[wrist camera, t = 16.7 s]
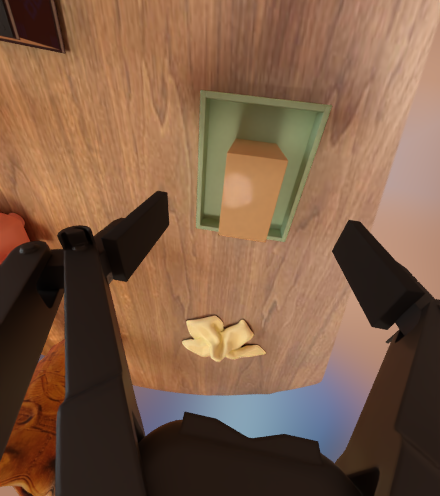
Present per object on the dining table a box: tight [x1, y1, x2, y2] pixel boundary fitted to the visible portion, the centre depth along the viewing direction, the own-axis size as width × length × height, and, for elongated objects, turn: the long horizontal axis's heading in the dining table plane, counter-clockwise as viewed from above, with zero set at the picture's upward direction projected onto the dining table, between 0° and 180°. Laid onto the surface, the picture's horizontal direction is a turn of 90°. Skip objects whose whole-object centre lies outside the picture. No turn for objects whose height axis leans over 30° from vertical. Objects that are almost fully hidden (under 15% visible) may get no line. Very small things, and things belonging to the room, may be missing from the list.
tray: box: [196, 90, 332, 242], centre depth 26 cm, size 13×16×3 cm
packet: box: [218, 138, 288, 242], centre depth 22 cm, size 5×8×10 cm, turn 174°
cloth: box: [182, 316, 266, 362], centre depth 48 cm, size 22×19×6 cm
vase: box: [0, 339, 65, 496], centre depth 46 cm, size 21×20×30 cm
